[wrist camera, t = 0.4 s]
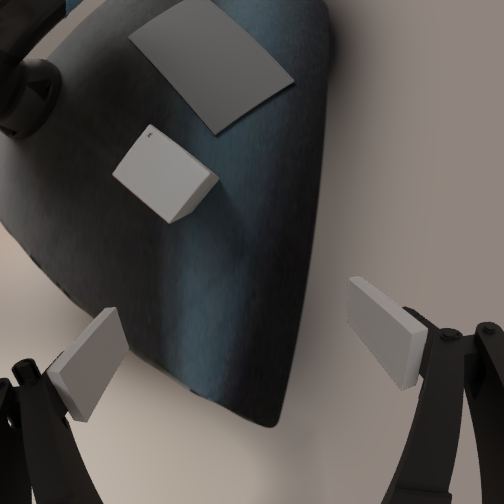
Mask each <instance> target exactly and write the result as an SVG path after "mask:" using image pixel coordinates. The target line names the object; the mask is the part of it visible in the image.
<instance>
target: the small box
mask: <svg viewBox="0 0 504 504" xmlns="http://www.w3.org/2000/svg"><path fill="white" fill-rule="evenodd" d="M112 175H113V176H114V177H115V178H116V179H117V180H118V181H119V182H121V183H122V184H123V185H124V186H125V187H126V188H127V189H129V190H130V191H131V192H132V193H133V194H134V195H136V196H137V197H138V198H139V199H140V200H141V201H142V202H144V203H145V204H146V205H147V206H148V207H150V208H151V209H152V210H153V211H154V212H156V213H157V214H158V215H159V216H160V217H161V218H163V219H164V220H165V221H166V222H167V223H169V224H170V223H172V222H174V221H176V220H178V219H180V218H182V217H184V216H186V215H188V214H190V213H192V212H193V210H194V209H195V208H196V207H197V205H198V204H199V203H200V202H201V201H202V199H203V198H204V197H205V196H206V195H207V193H208V192H209V191H210V190H211V189H212V187H213V186H214V185H215V184H216V183H217V182H218V180H219V177H218V176H217V175H216V174H214V173H213V172H212V171H211V170H210V169H208V168H207V167H206V166H205V165H204V164H202V163H201V162H200V161H199V160H197V159H196V158H195V157H194V156H192V155H191V154H190V153H189V152H187V151H186V150H185V149H183V148H182V147H181V146H179V145H178V144H177V143H175V142H174V141H173V140H171V139H170V138H169V137H167V136H166V135H165V134H163V133H162V132H161V131H159V130H158V129H156V128H155V127H154V126H152V125H151V124H149V126H148V127H147V128H146V129H145V131H144V132H143V133H142V135H141V136H140V137H139V138H138V140H137V141H136V142H135V144H134V145H133V146H132V147H131V149H130V150H129V151H128V153H127V154H126V156H125V157H124V158H123V160H122V161H121V162H120V164H119V165H118V167H117V168H116V170H115V171H114V172H113V174H112Z"/></svg>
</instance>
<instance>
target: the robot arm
mask: <svg viewBox="0 0 504 504" xmlns="http://www.w3.org/2000/svg"><path fill="white" fill-rule="evenodd" d="M82 1H83V0H0V131H1V132H2V133H3V134H5V135H6V136H8V137H11V138H16V139H23V138H26V137H28V136H30V135H32V134H33V133H34V132H36V131H37V130H38V129H39V128H40V127H41V126H42V124H43V123H44V122H45V121H46V119H47V118H48V116H49V114H50V113H51V111H52V109H53V107H54V105H55V102H56V100H57V97H58V94H59V89H60V73H59V70H58V68H57V67H56V66H55V65H54V64H52V63H51V62H49V61H47V60H44V59H24V58H25V57H26V55H28V53H29V52H30V51H31V50H32V49H33V48H34V47H35V46H36V45H37V44H38V43H39V41H41V39H42V38H43V37H44V36H45V35H46V34H47V33H48V32H49V31H50V30H52V29H53V28H54V27H55V26H56V25H57V24H58V23H59V22H60V21H61V20H62V19H65V18H66V17H67V16H68V14H69V13H70V12H71V11H72V10H73V9H74V8H76V7H77V6H78V5H79V4H80V3H81V2H82ZM347 279H348V280H347V283H348V284H347V285H348V286H347V287H348V310H347V322H348V323H349V325H350V326H351V327H352V328H353V330H354V331H355V332H356V333H357V334H358V336H359V337H360V338H361V340H362V341H363V342H364V343H365V345H366V346H367V347H368V349H369V350H370V351H371V352H372V354H373V355H374V356H375V357H376V359H377V360H378V361H379V363H380V364H381V365H382V366H383V368H384V369H385V370H386V371H387V373H388V374H389V376H390V377H391V378H392V379H393V381H394V382H395V383H396V385H397V386H398V387H399V389H400V390H401V391H402V390H404V389H407V388H410V387H412V386H415V385H416V383H417V380H418V375H419V374H420V375H421V376H422V377H423V379H424V380H423V384H422V387H421V391H420V394H419V397H418V398H419V401H418V404H417V408H416V412H415V415H414V419H413V422H412V426H411V429H410V432H409V435H408V438H407V442H406V445H405V447H404V450H403V453H402V456H401V458H400V461H399V464H398V466H397V469H396V471H395V473H394V476H393V478H392V481H391V483H390V485H389V487H388V490H387V492H386V494H385V496H384V498H383V500H382V502H381V504H451V501H452V494H451V493H449V492H448V489H449V484H450V480H451V476H452V472H453V468H454V463H455V458H456V452H457V447H458V441H459V434H460V426H461V417H462V407H463V392H464V389H465V393H466V397H467V401H468V405H469V409H470V414H471V418H472V423H473V428H474V433H475V438H476V444H477V451H478V458H479V466H480V475H481V489H482V504H504V332H503V330H502V329H501V327H500V326H498V325H497V324H495V323H493V322H492V323H491V322H483V323H480V324H478V325H477V327H476V331H475V334H474V335H468V336H463V335H462V333H460V332H459V331H458V330H455V329H451V328H442V329H439V328H438V327H436V326H435V325H434V324H432V323H431V322H430V321H428V320H427V319H425V318H424V317H423V316H422V315H420V314H419V313H418V312H416V311H415V310H414V309H411V308H408V307H400V306H398V305H397V304H396V303H395V302H394V301H392V300H391V299H390V298H388V297H387V296H386V295H384V294H383V293H382V292H380V291H379V290H378V289H376V288H375V287H374V286H373V285H371V284H370V283H369V282H367V281H366V280H365V279H363V278H362V277H361V276H356V277H350V278H347ZM128 350H129V346H128V343H127V340H126V337H125V334H124V331H123V328H122V325H121V322H120V319H119V316H118V312H117V309H116V307H114V308H105V309H104V310H103V311H102V312H101V313H100V314H99V315H98V316H97V317H96V318H95V319H94V320H93V321H92V322H91V323H90V324H89V325H88V326H87V327H86V328H85V329H84V330H83V332H82V333H81V334H80V335H79V336H78V337H77V338H76V339H75V340H74V341H73V342H72V343H71V344H70V345H69V346H68V347H67V349H66V350H65V351H63V352H62V353H61V354H60V355H59V356H58V357H57V359H55V360H54V361H53V363H52V364H51V365H50V366H49V367H48V368H47V369H46V370H45V371H44V373H43V374H42V375H41V373H40V371H39V369H38V367H37V366H36V363H35V361H34V360H33V359H28V358H27V359H23V360H21V361H19V362H17V363H16V364H15V365H14V366H13V367H12V372H13V374H14V376H15V378H16V380H17V382H18V384H19V385H20V386H17V387H13V386H12V384H11V383H10V381H9V379H8V378H0V504H32V489H33V493H34V496H35V500H36V504H103V502H102V500H101V498H100V496H99V495H98V493H97V491H96V489H95V487H94V484H93V483H92V480H91V478H90V476H89V474H88V472H87V469H86V467H85V465H84V462H83V460H82V458H81V455H80V453H79V450H78V448H77V445H76V442H75V439H74V437H73V434H72V431H71V428H70V425H69V422H68V420H67V419H66V417H65V415H66V413H67V412H69V413H70V415H71V416H72V418H73V419H74V420H75V421H81V422H87V421H88V419H89V418H90V416H91V414H92V412H93V410H94V408H95V407H96V405H97V403H98V401H99V399H100V398H101V396H102V394H103V392H104V391H105V389H106V387H107V385H108V383H109V382H110V380H111V378H112V377H113V375H114V373H115V371H116V370H117V368H118V366H119V365H120V363H121V361H122V359H123V358H124V356H125V355H126V353H127V351H128ZM7 418H8V419H7ZM8 420H9V421H10V423H11V426H10V425H9V423H8Z"/></svg>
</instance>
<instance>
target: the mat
mask: <svg viewBox="0 0 504 504" xmlns="http://www.w3.org/2000/svg"><path fill="white" fill-rule="evenodd" d="M128 38H129V39H130V40H131V41H132V42H133V43H134V44H135V45H136V47H137V48H138V49H139V50H140V51H141V52H142V53H143V54H144V55H145V56H146V57H147V58H148V59H149V61H150V62H151V63H152V64H153V65H154V66H155V67H156V68H157V69H158V70H159V71H160V73H161V74H162V75H163V76H164V77H165V78H166V79H167V80H168V82H169V83H170V84H171V85H172V86H173V87H174V88H175V89H176V91H177V92H178V93H179V94H180V95H181V96H182V97H183V99H184V100H185V101H186V102H187V103H188V104H189V106H190V107H191V108H192V109H193V110H194V111H195V113H196V114H197V115H198V116H199V117H200V118H201V120H202V121H203V122H204V123H205V124H206V126H207V127H208V128H209V129H210V130H211V131H212V133H213V134H214V135H215V136H216V135H217V134H218V133H220V132H221V131H222V130H224V129H225V128H226V127H228V126H229V125H230V124H232V123H233V122H235V121H236V120H237V119H239V118H240V117H242V116H243V115H245V114H246V113H247V112H249V111H250V110H252V109H253V108H255V107H256V106H258V105H259V104H261V103H262V102H264V101H265V100H267V99H268V98H270V97H271V96H273V95H274V94H276V93H278V92H279V91H281V90H282V89H284V88H286V87H287V86H289V85H291V84H292V83H294V80H293V79H292V78H291V77H290V75H289V74H288V73H287V72H286V71H285V70H284V69H283V68H282V67H281V66H280V65H279V64H278V63H277V61H276V60H275V59H274V58H273V57H272V56H271V55H270V54H269V53H268V52H267V51H266V50H265V49H264V48H263V47H262V46H261V45H260V44H259V43H258V42H257V41H256V40H255V39H254V38H253V37H251V36H250V35H249V34H248V33H247V32H246V31H245V30H244V29H243V28H242V27H241V26H240V25H238V24H237V23H236V22H235V21H234V20H233V19H232V18H231V17H229V16H228V15H227V14H226V13H225V12H223V11H222V10H221V9H220V8H219V7H217V6H216V5H215V4H214V3H212V2H211V1H210V0H183V1H182V2H180V3H178V4H176V5H175V6H173V7H171V8H170V9H168V10H166V11H165V12H163V13H162V14H160V15H158V16H157V17H155V18H154V19H152V20H151V21H149V22H148V23H146V24H145V25H144V26H142V27H141V28H139V29H138V30H136V31H135V32H134V33H132V34H131V35H130V36H128Z"/></svg>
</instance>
